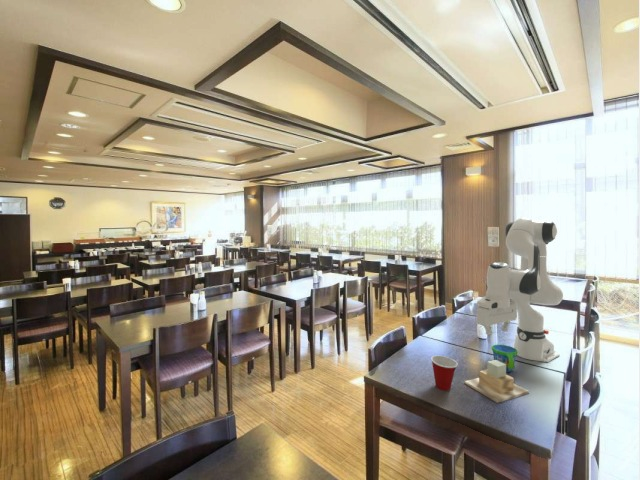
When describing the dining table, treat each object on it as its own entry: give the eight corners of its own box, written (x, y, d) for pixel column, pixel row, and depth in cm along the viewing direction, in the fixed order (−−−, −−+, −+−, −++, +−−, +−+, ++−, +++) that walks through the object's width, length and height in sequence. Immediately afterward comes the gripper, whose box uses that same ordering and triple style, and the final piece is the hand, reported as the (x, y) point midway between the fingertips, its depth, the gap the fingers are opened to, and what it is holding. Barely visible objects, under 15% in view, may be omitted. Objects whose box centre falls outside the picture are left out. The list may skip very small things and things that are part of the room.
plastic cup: (460, 395, 129) (461, 366, 128) (432, 393, 131) (433, 364, 130) (453, 382, 139) (454, 355, 139) (428, 380, 141) (428, 353, 140)
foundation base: (494, 375, 145) (494, 363, 144) (528, 393, 130) (529, 379, 130) (464, 383, 138) (465, 370, 138) (497, 402, 123) (497, 388, 123)
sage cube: (495, 370, 137) (495, 359, 137) (505, 376, 132) (506, 364, 132) (486, 372, 135) (487, 361, 135) (497, 378, 130) (497, 366, 130)
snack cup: (487, 360, 160) (487, 341, 160) (510, 363, 158) (511, 343, 157) (496, 375, 145) (497, 354, 144) (522, 378, 142) (522, 356, 142)
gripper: (507, 296, 140) (507, 326, 141) (473, 301, 133) (473, 333, 134) (521, 300, 134) (520, 331, 136) (486, 305, 127) (486, 339, 128)
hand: (496, 332), depth 135 cm, fingers open, 8 cm apart
